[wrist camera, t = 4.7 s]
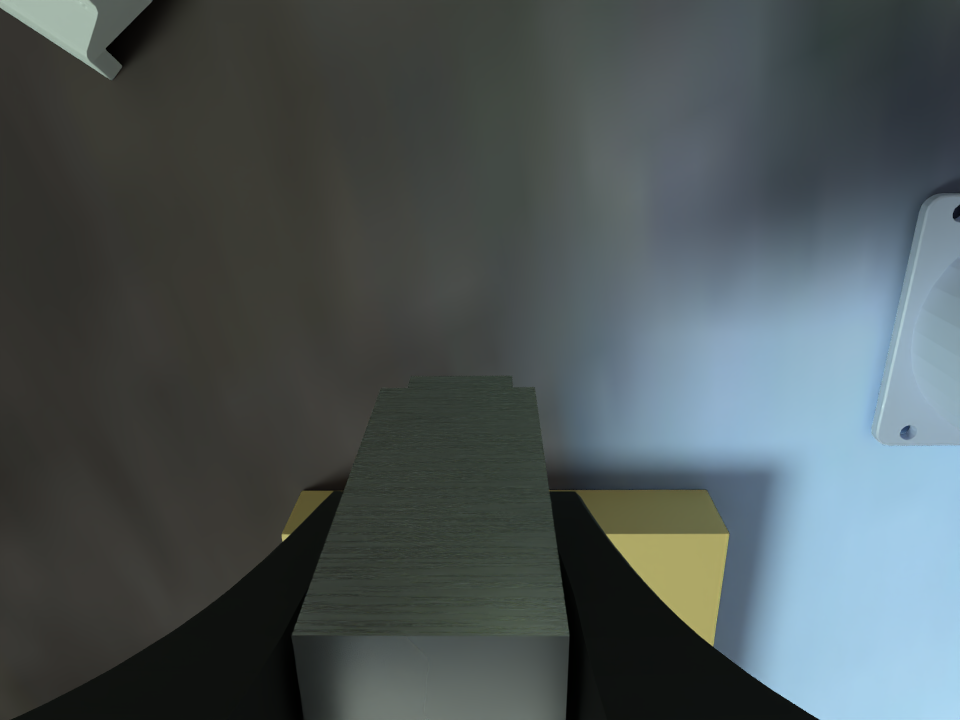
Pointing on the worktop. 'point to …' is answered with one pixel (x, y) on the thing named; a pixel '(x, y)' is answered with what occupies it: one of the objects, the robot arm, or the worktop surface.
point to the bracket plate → (645, 544)
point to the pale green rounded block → (80, 25)
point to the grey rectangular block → (440, 566)
